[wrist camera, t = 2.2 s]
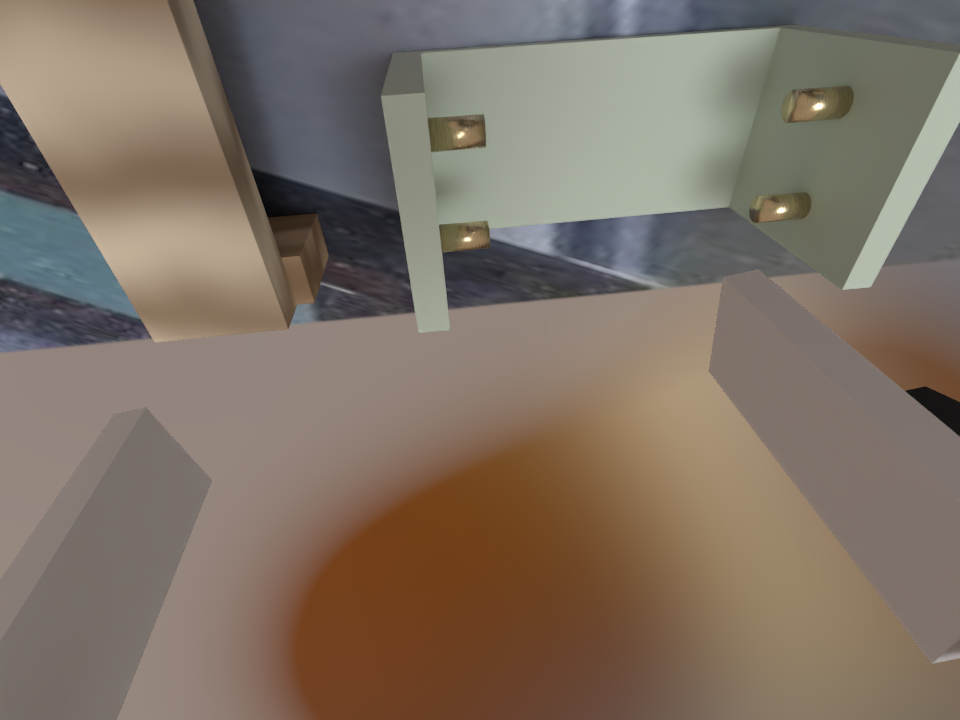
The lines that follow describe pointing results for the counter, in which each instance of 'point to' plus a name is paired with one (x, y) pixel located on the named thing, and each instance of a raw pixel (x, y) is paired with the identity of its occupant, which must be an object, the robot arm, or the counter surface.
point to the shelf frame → (670, 139)
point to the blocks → (301, 253)
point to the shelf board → (148, 159)
